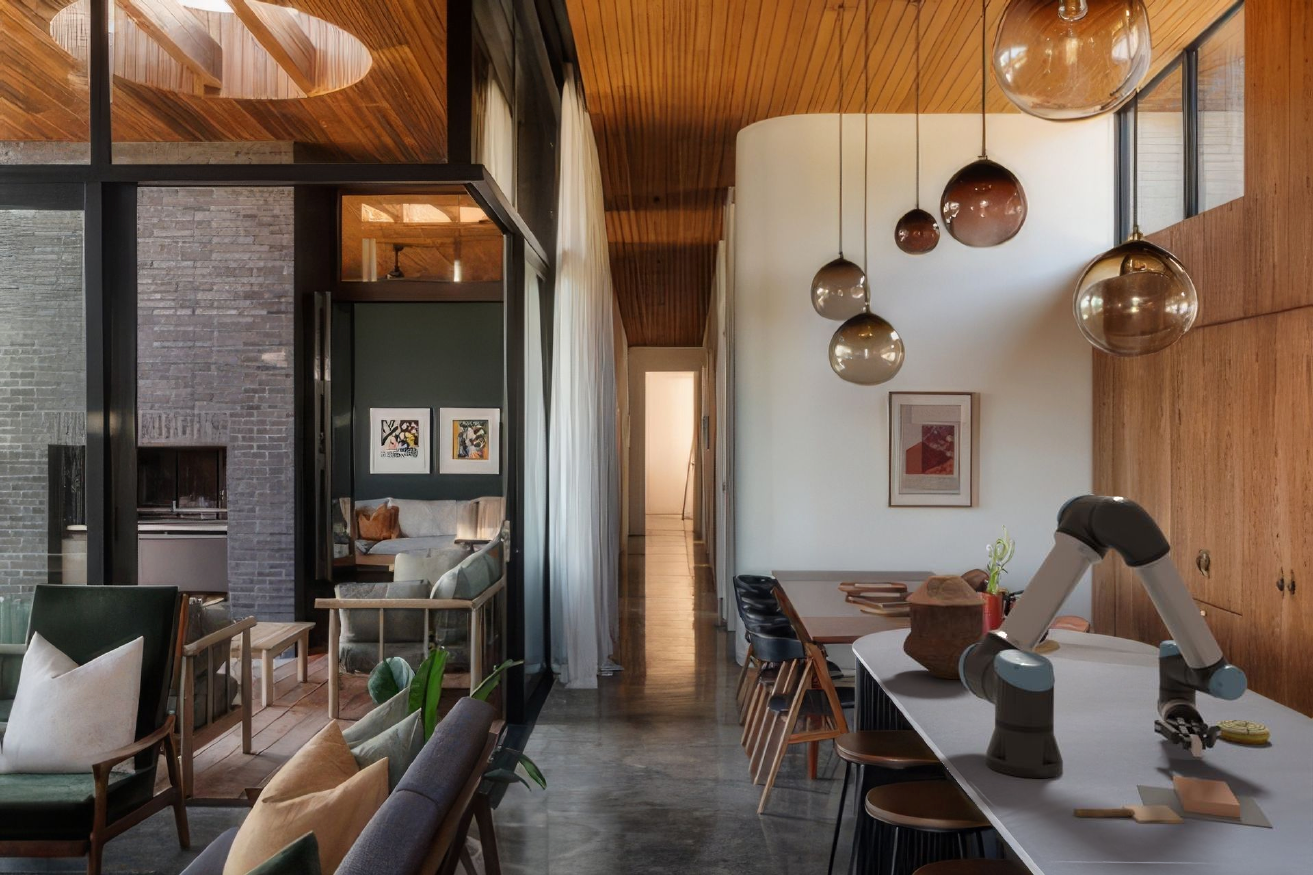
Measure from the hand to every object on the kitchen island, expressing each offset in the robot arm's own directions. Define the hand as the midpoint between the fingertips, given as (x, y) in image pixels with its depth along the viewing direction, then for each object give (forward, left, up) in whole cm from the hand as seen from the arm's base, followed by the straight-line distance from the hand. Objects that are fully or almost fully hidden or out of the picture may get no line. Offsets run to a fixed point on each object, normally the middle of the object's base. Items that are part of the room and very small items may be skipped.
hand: (1198, 749), depth 197 cm
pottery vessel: (-53, +84, -7) cm, 100 cm away
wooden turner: (-14, -24, -7) cm, 29 cm away
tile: (0, -4, -6) cm, 7 cm away
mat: (-1, -13, -7) cm, 15 cm away
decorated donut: (+16, +42, -8) cm, 45 cm away
